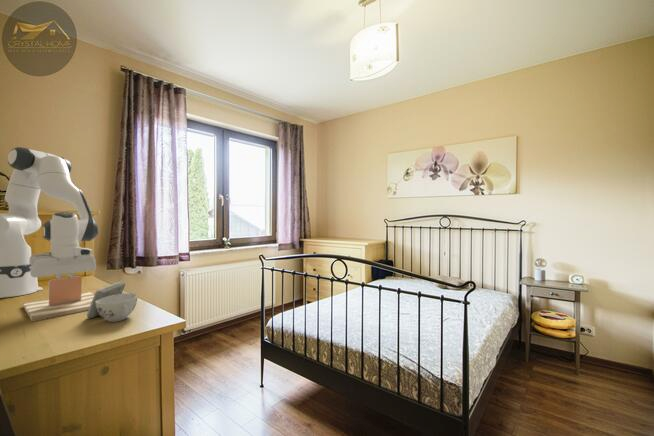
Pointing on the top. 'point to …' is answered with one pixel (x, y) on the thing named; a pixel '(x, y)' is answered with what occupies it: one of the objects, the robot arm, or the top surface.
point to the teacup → (116, 306)
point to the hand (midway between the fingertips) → (65, 284)
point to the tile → (64, 290)
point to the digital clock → (102, 293)
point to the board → (57, 307)
